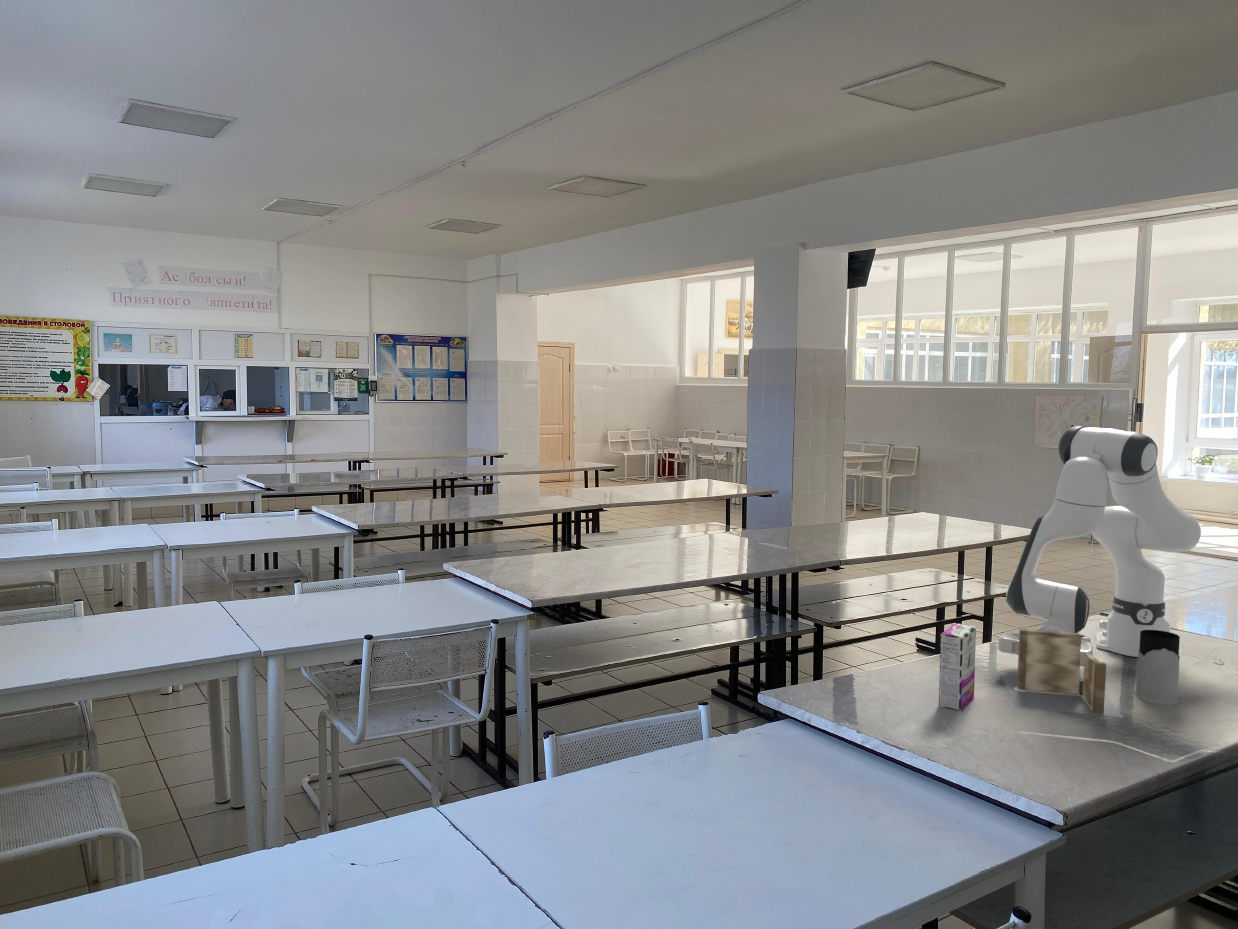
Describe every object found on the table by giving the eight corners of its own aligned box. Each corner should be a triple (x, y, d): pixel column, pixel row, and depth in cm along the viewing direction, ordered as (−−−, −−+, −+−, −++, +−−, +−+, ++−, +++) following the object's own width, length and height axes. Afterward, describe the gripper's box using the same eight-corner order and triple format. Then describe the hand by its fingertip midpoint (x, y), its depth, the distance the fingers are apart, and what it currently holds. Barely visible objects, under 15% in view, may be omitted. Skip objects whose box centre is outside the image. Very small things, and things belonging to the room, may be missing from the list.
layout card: (999, 673, 207) (999, 671, 207) (1095, 682, 201) (1095, 680, 201) (1015, 708, 183) (1015, 706, 183) (1124, 720, 177) (1124, 717, 177)
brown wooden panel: (1076, 692, 192) (1079, 633, 191) (1078, 694, 191) (1081, 635, 190) (1016, 686, 196) (1019, 628, 195) (1018, 688, 194) (1020, 630, 193)
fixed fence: (1078, 693, 192) (1080, 647, 191) (1086, 694, 192) (1089, 647, 191) (1094, 713, 180) (1096, 663, 179) (1103, 714, 179) (1106, 664, 179)
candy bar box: (951, 693, 193) (954, 622, 192) (974, 697, 190) (977, 626, 189) (936, 706, 184) (939, 632, 183) (960, 711, 181) (963, 636, 180)
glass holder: (1138, 703, 187) (1142, 637, 186) (1123, 683, 201) (1126, 621, 200) (1184, 708, 185) (1188, 641, 183) (1165, 688, 198) (1169, 625, 197)
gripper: (1005, 623, 211) (991, 635, 200) (1098, 638, 199) (1088, 651, 188) (1004, 648, 212) (989, 661, 201) (1096, 664, 199) (1086, 679, 189)
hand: (1038, 656), depth 194 cm, fingers closed
